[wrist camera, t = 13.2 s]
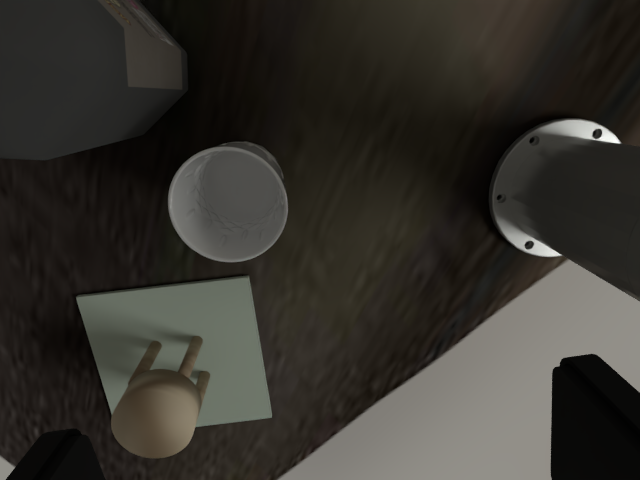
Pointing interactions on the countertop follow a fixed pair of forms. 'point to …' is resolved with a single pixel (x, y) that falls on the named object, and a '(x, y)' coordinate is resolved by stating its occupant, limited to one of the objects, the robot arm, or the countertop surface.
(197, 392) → the round tan stool
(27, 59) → the liquor
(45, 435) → the robot arm
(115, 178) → the countertop surface
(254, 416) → the sage mat
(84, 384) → the countertop surface
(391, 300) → the countertop surface
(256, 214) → the white cup
